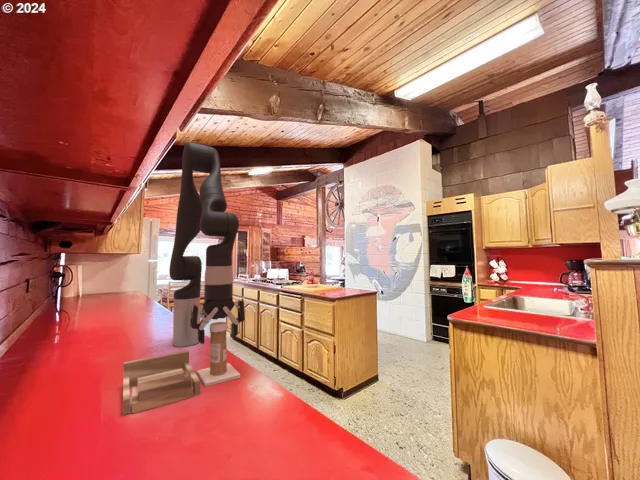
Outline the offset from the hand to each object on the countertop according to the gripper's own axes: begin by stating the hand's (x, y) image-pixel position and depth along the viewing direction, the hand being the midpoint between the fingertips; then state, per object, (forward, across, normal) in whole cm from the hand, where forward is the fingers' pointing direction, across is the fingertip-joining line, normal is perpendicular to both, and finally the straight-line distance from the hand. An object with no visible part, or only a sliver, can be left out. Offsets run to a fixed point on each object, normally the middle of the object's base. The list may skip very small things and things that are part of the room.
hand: (218, 340), depth 78 cm
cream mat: (+10, 0, 0) cm, 10 cm away
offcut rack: (+10, +14, +1) cm, 17 cm away
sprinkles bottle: (+9, 0, 0) cm, 9 cm away
